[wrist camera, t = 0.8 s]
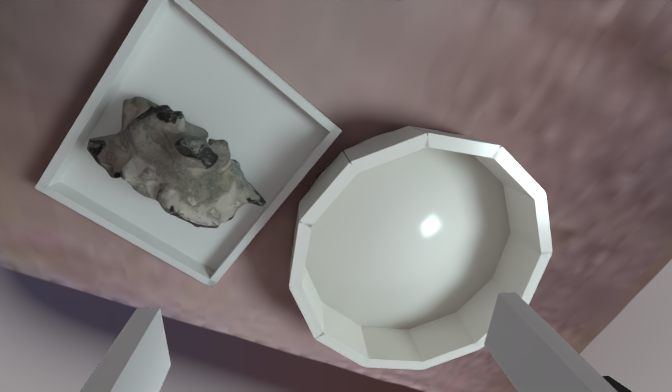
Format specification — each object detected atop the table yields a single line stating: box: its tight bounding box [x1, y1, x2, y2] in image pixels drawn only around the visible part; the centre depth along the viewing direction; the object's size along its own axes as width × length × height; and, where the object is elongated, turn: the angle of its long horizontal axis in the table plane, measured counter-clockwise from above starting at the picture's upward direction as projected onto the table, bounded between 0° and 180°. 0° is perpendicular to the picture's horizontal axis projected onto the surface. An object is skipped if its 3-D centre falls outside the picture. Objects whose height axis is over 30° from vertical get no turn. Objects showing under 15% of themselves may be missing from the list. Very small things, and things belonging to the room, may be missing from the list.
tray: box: [35, 0, 342, 288], centre depth 30 cm, size 19×22×2 cm
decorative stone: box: [87, 97, 267, 228], centre depth 26 cm, size 16×9×10 cm, turn 67°
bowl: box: [289, 126, 552, 370], centre depth 34 cm, size 26×26×6 cm
